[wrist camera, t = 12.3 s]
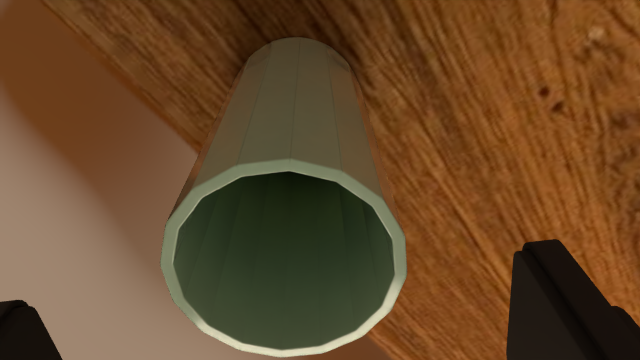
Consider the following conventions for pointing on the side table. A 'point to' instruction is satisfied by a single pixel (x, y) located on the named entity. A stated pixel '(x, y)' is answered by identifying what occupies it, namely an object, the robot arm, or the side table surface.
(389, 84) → the side table surface
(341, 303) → the tube
